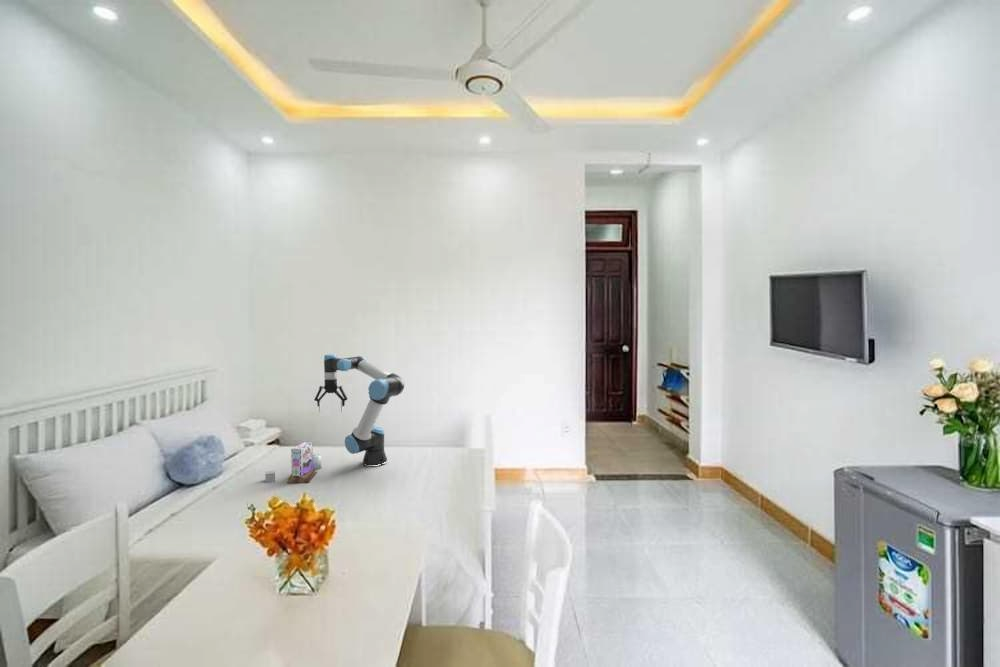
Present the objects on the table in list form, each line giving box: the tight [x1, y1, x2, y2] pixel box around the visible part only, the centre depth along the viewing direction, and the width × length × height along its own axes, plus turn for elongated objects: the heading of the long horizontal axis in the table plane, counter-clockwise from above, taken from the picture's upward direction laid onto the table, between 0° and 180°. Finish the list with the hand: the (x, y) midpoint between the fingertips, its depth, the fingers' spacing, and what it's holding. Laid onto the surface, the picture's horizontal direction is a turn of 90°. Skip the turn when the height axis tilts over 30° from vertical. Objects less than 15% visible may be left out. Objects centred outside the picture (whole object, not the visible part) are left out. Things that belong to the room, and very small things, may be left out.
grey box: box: [264, 470, 276, 484], centre depth 293 cm, size 5×5×5 cm
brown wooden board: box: [286, 468, 318, 484], centre depth 297 cm, size 12×17×3 cm
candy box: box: [290, 441, 314, 477], centre depth 297 cm, size 14×6×16 cm, turn 171°
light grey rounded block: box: [313, 453, 322, 471], centre depth 314 cm, size 7×7×8 cm
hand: (331, 411), depth 326 cm, fingers open, 13 cm apart
